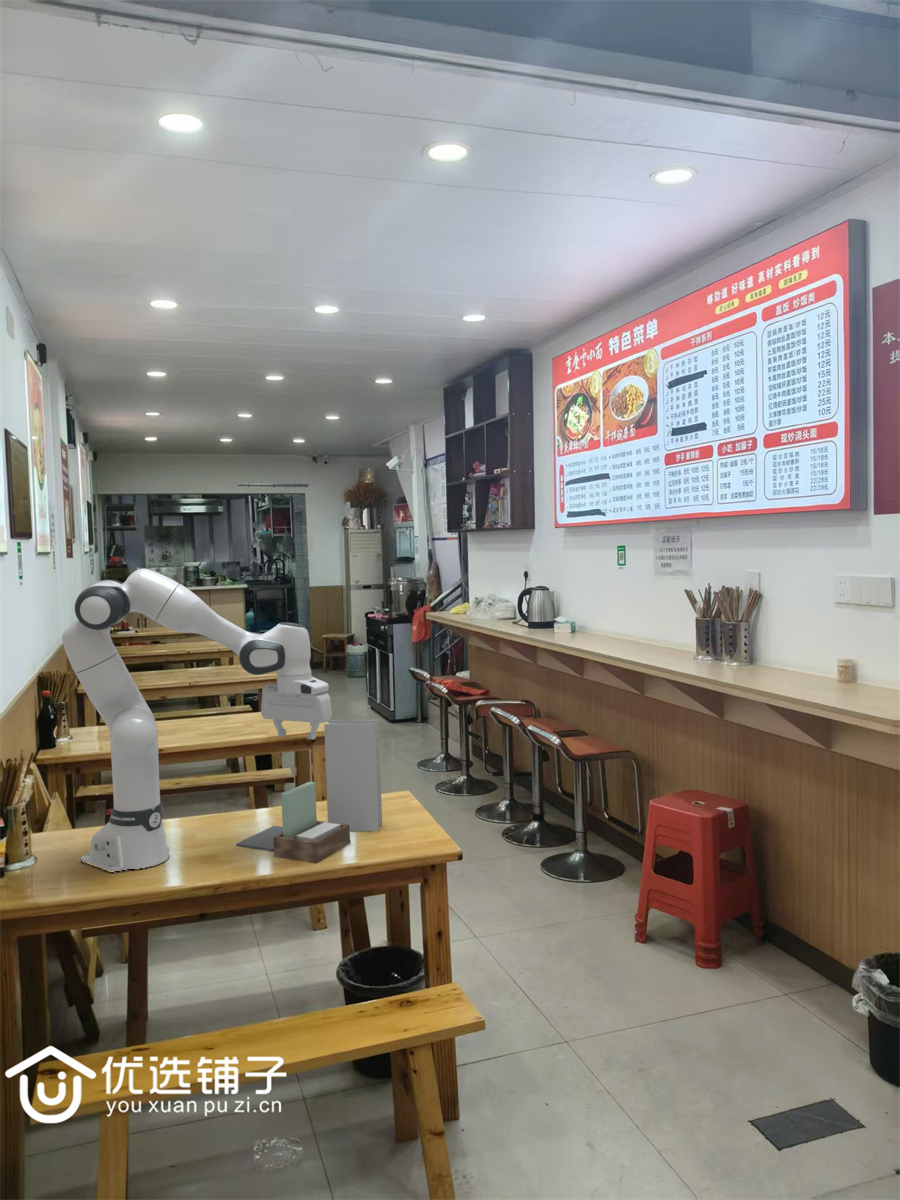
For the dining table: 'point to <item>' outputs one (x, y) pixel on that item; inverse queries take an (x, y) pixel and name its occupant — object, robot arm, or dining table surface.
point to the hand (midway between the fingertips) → (296, 737)
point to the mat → (262, 839)
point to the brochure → (353, 773)
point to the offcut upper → (318, 831)
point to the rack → (311, 845)
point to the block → (299, 809)
